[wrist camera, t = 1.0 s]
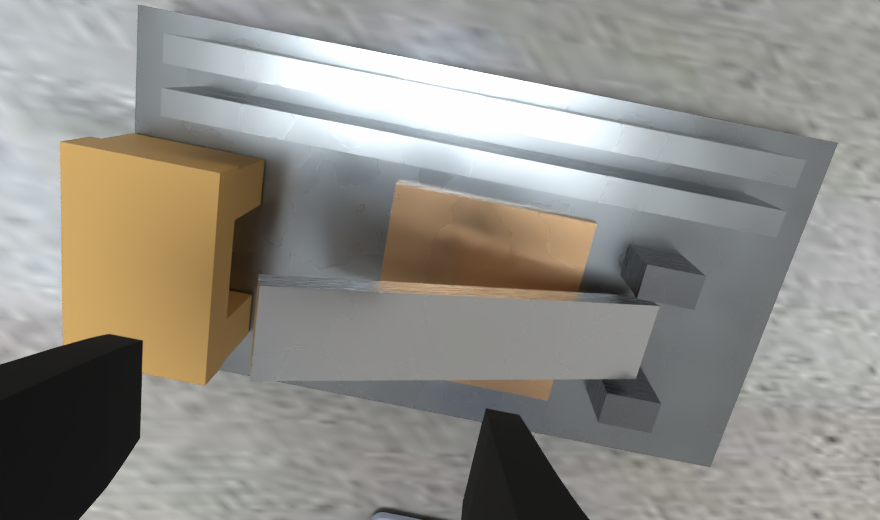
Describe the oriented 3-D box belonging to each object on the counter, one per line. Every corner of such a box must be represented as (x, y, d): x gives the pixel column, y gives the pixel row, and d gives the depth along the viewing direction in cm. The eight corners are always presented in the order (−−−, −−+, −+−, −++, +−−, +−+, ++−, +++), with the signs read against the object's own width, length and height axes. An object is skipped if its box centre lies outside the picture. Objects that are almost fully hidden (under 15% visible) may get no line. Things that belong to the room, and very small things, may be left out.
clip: (247, 336, 19) (204, 385, 16) (128, 312, 19) (63, 357, 16) (265, 156, 17) (220, 173, 14) (133, 130, 17) (60, 141, 14)
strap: (621, 366, 18) (635, 379, 18) (249, 365, 14) (250, 381, 14) (644, 296, 17) (659, 306, 17) (258, 274, 14) (259, 285, 13)
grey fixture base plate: (689, 432, 22) (740, 518, 18) (159, 327, 22) (83, 388, 18) (800, 135, 18) (896, 153, 14) (173, 11, 18) (83, -7, 14)
